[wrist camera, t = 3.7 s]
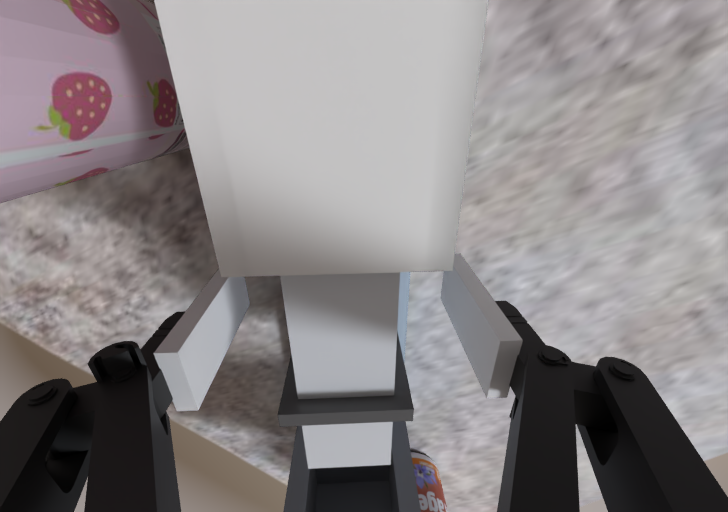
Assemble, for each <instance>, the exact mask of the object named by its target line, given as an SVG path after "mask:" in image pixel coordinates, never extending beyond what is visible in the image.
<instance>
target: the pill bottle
mask: <svg viewBox="0 0 728 512" xmlns="http://www.w3.org/2000/svg"><path fill="white" fill-rule="evenodd" d="M411 456H412V462H413V468H414V474H415V479H416V485H417V491H418V496H419V502H420V508H421V512H448V511H447V506H446V502H445V498H444V493H443V489H442V485H441V480H440V476H439V472H438V468H437V466H436V464H435V463H434V461H433V460H432V459H430V458H429V457H427V456H425V455H423V454H419V453H414V452H411Z"/></svg>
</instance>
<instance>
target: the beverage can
mask: <svg viewBox="0 0 728 512" xmlns="http://www.w3.org/2000/svg"><path fill="white" fill-rule="evenodd" d="M187 148H190V146H189V142H188V138H187V134H186V130H185V126H184V122H183V118H182V113H181V109H180V105H179V101H178V97H177V93H176V89H175V85H174V80H173V76H172V72H171V68H170V64H169V60H168V56H167V52H166V47H165V43H164V39H163V35H162V31H161V27H160V23H159V19H158V14H157V10H156V6H155V4H153V3H151V2H148V1H146V0H0V203H2V202H6V201H9V200H13V199H16V198H19V197H23V196H26V195H30V194H33V193H37V192H40V191H43V190H47V189H50V188H54V187H57V186H60V185H64V184H67V183H71V182H74V181H78V180H81V179H84V178H88V177H91V176H95V175H98V174H101V173H105V172H108V171H112V170H115V169H118V168H122V167H125V166H129V165H132V164H136V163H139V162H142V161H146V160H149V159H153V158H156V157H159V156H163V155H166V154H170V153H173V152H177V151H180V150H183V149H187Z"/></svg>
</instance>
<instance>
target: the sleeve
mask: <svg viewBox="0 0 728 512" xmlns="http://www.w3.org/2000/svg"><path fill="white" fill-rule="evenodd" d="M154 2H155V6H156V10H157V14H158V19H159V23H160V27H161V31H162V35H163V39H164V43H165V47H166V52H167V56H168V60H169V64H170V68H171V72H172V76H173V80H174V85H175V89H176V93H177V97H178V101H179V105H180V109H181V113H182V118H183V122H184V126H185V130H186V134H187V138H188V142H189V146H190V151H191V155H192V159H193V163H194V167H195V171H196V175H197V179H198V184H199V188H200V192H201V196H202V200H203V204H204V208H205V212H206V217H207V221H208V225H209V229H210V233H211V237H212V241H213V245H214V250H215V254H216V258H217V262H218V266H219V270H220V274H221V277H251V276H287V275H324V274H360V273H396V272H432V271H453V263H454V256H455V248H456V241H457V233H458V226H459V218H460V211H461V204H462V196H463V189H464V181H465V174H466V166H467V159H468V151H469V144H470V136H471V129H472V122H473V114H474V107H475V99H476V92H477V84H478V77H479V69H480V62H481V55H482V47H483V40H484V32H485V25H486V17H487V10H488V2H489V0H154Z"/></svg>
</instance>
